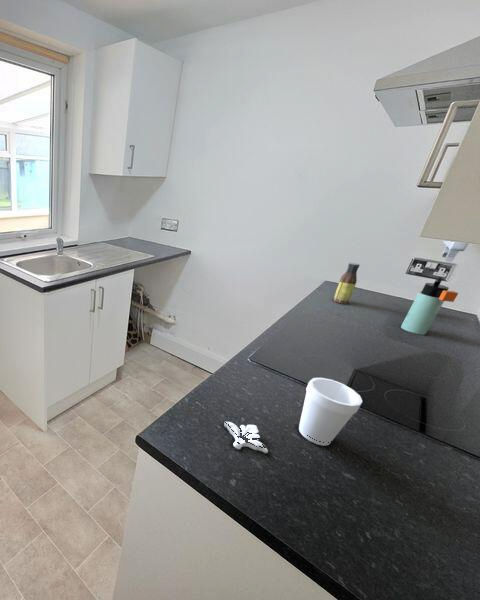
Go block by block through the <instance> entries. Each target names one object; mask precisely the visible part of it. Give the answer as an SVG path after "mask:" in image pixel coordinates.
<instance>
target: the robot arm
mask: <svg viewBox="0 0 480 600" xmlns="http://www.w3.org/2000/svg"><path fill="white" fill-rule="evenodd" d="M443 244H444V249H443V252H442V254H441V257H442V258H444V261H445V262H449V263H451V262H453V261H454V259H455V257H456V256H457V255H458V254H459V253H460V252H464V251H465V250H466V249H467V247H468V245H469V243H460V242H451V241H444V240H443Z"/></svg>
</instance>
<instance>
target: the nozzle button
mask: <svg viewBox="0 0 480 600" xmlns="http://www.w3.org/2000/svg"><path fill="white" fill-rule="evenodd" d="M458 295H459V292H457V291H454V290H448V291H445V290H443V291H442V293H441V295H440V297H439V299H440V300H442V301H444V302H450V303H454V302H455V300H456V298H457V297H458Z"/></svg>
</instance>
